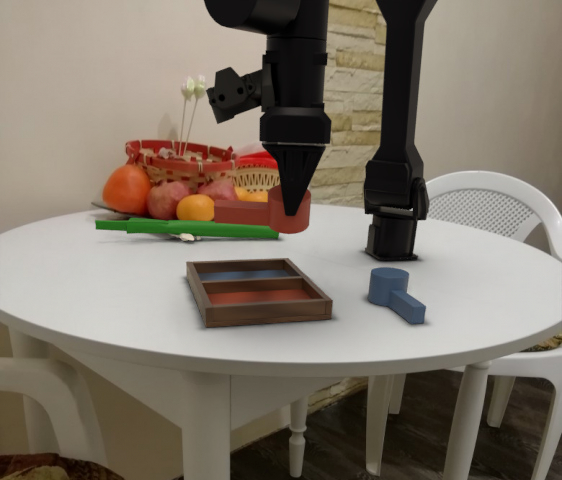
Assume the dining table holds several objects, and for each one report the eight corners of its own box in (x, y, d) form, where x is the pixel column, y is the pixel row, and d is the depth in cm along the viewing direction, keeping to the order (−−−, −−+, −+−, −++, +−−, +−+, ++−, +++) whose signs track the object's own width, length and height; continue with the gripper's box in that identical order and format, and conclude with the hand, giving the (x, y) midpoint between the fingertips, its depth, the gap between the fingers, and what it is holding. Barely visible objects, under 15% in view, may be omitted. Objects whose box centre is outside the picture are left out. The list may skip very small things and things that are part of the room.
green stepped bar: (274, 240, 97) (97, 234, 90) (275, 221, 95) (95, 213, 88) (280, 247, 93) (95, 241, 86) (281, 228, 91) (93, 220, 84)
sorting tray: (287, 273, 76) (288, 257, 75) (331, 319, 60) (333, 300, 59) (186, 277, 72) (186, 261, 71) (205, 327, 57) (205, 307, 56)
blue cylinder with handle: (362, 295, 68) (364, 267, 67) (395, 293, 69) (398, 266, 68) (398, 325, 60) (402, 294, 58) (436, 322, 61) (441, 292, 59)
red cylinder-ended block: (309, 214, 61) (311, 184, 59) (308, 235, 58) (310, 204, 55) (218, 209, 61) (216, 179, 59) (212, 230, 58) (210, 199, 56)
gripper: (220, 46, 59) (223, 194, 67) (197, 25, 43) (203, 226, 50) (322, 50, 60) (313, 197, 67) (338, 31, 43) (324, 230, 50)
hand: (289, 210), depth 58 cm, fingers closed on red cylinder-ended block, 5 cm apart
